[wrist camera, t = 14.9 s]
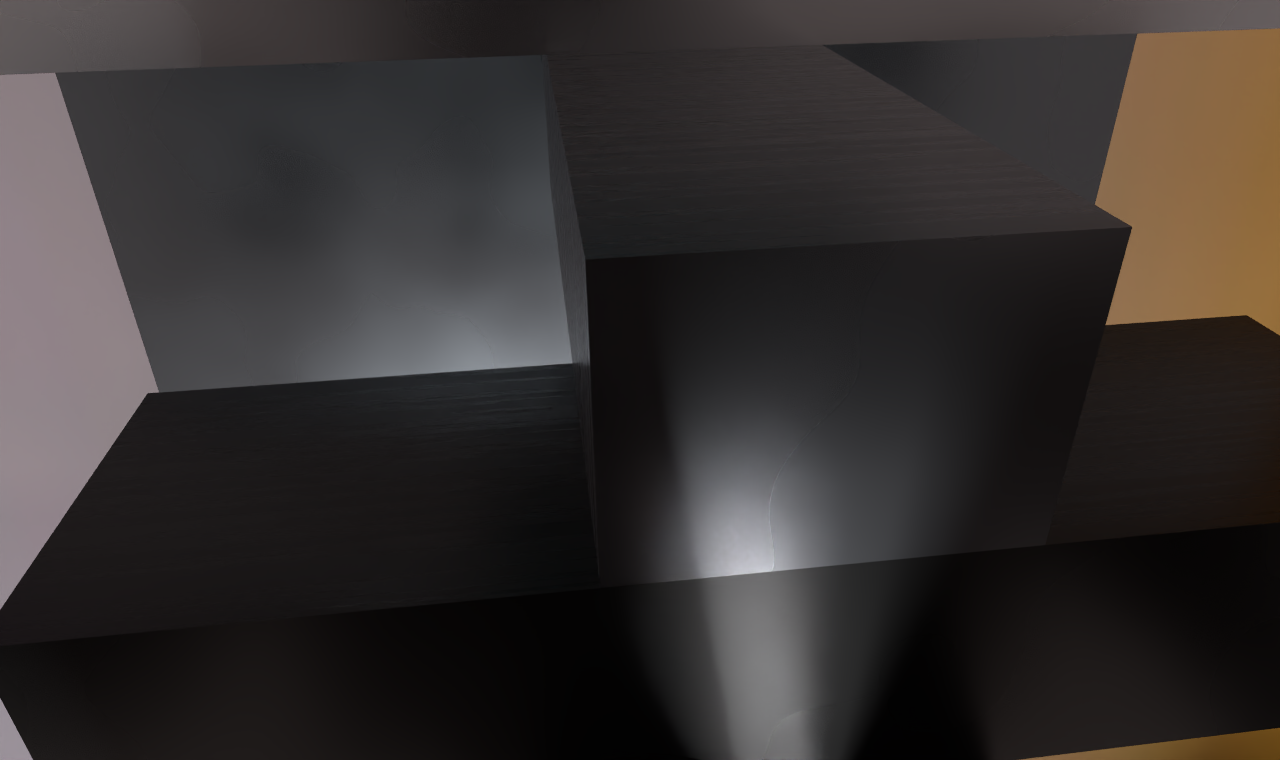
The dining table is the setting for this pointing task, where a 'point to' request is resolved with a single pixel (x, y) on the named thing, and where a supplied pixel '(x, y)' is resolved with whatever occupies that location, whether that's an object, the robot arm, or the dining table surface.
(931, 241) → the vise jaw
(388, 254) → the vise
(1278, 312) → the dining table surface
